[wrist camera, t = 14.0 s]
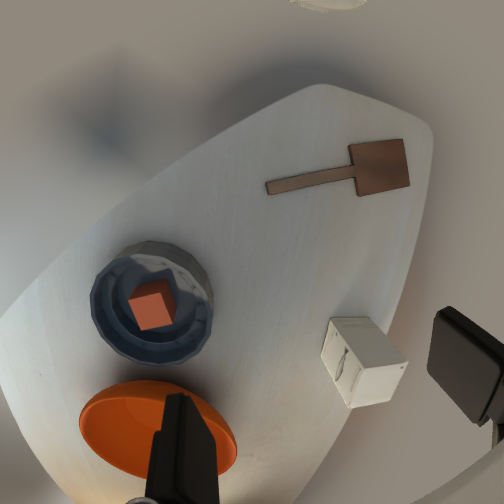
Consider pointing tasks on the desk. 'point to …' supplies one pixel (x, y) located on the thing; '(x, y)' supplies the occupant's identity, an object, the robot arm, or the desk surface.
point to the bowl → (143, 424)
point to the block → (153, 305)
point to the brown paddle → (358, 170)
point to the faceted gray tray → (184, 294)
